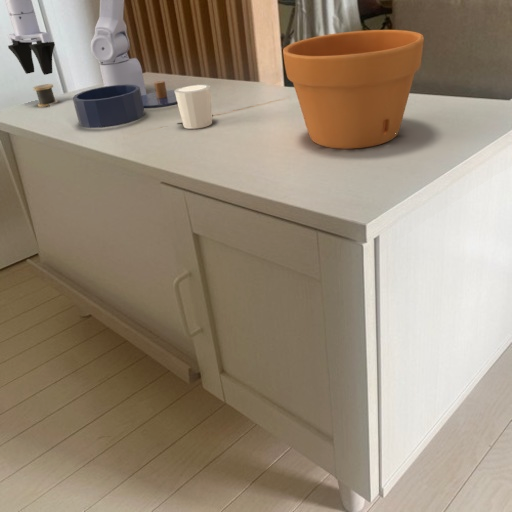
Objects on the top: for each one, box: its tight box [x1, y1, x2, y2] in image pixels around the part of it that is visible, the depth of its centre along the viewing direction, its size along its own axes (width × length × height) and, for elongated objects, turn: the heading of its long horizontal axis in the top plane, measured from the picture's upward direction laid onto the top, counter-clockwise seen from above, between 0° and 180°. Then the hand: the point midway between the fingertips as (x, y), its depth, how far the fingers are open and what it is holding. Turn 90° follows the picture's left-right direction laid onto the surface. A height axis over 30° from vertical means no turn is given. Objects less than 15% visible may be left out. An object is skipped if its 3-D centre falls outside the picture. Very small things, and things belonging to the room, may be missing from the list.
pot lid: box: [142, 80, 178, 109], centre depth 125 cm, size 15×15×5 cm
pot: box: [72, 85, 145, 129], centre depth 113 cm, size 14×14×6 cm
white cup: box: [174, 84, 213, 130], centre depth 104 cm, size 7×7×7 cm
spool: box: [32, 83, 58, 108], centre depth 136 cm, size 5×5×4 cm
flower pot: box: [282, 29, 425, 150], centre depth 86 cm, size 21×21×15 cm
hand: (39, 73), depth 133 cm, fingers open, 7 cm apart
